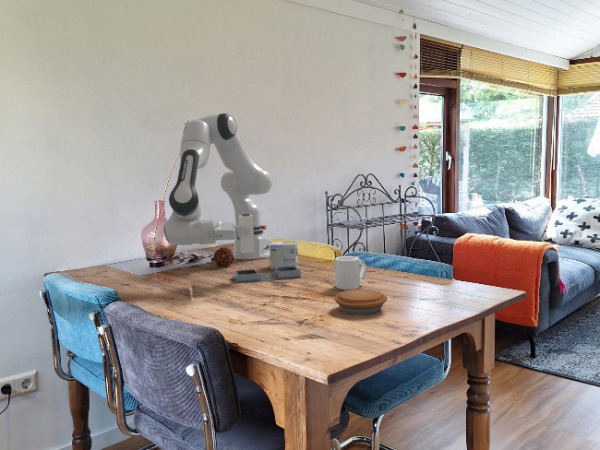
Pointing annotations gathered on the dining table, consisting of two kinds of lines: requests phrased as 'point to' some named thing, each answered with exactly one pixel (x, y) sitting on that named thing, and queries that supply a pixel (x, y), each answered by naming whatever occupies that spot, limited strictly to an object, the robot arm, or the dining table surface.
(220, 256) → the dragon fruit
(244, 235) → the white rectangular bottle
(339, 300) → the pie
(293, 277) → the grey double tray
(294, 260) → the light bulb box
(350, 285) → the mug
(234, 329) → the dining table surface
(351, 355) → the dining table surface
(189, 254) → the dining table surface
